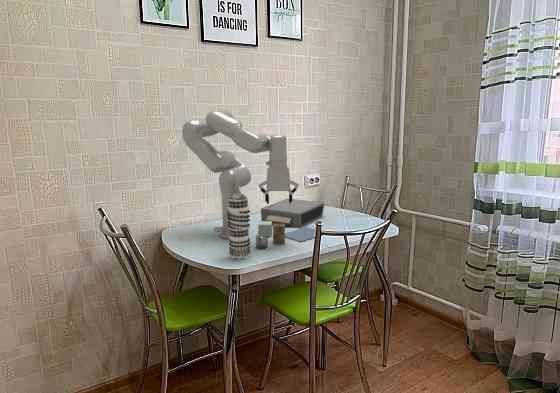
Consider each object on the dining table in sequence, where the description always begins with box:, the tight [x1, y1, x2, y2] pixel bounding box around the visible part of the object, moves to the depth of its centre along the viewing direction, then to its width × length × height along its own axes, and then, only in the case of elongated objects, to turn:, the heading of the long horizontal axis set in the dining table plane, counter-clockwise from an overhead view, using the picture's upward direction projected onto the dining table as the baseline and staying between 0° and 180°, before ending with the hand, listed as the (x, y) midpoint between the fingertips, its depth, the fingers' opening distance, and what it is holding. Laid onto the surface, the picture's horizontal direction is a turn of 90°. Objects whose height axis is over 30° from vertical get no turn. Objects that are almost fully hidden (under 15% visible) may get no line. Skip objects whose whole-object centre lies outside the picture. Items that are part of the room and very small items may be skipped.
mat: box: [285, 226, 316, 243], centre depth 195 cm, size 18×14×1 cm
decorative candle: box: [227, 193, 251, 260], centre depth 167 cm, size 9×9×25 cm
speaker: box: [260, 198, 325, 229], centre depth 223 cm, size 24×8×30 cm
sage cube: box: [257, 220, 273, 238], centre depth 196 cm, size 6×6×6 cm
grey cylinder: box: [255, 234, 269, 250], centre depth 178 cm, size 5×5×5 cm
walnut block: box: [272, 224, 286, 245], centre depth 184 cm, size 5×5×8 cm
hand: (278, 203), depth 181 cm, fingers open, 9 cm apart
